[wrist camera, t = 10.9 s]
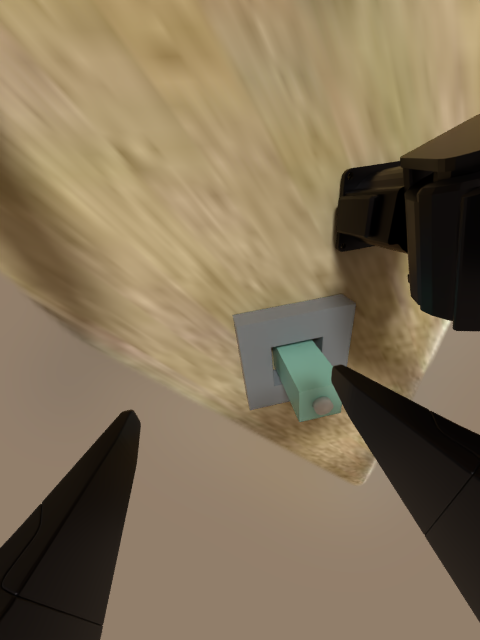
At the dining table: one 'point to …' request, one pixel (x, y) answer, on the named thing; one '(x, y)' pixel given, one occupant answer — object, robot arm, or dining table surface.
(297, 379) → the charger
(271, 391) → the plate
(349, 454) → the dining table surface
